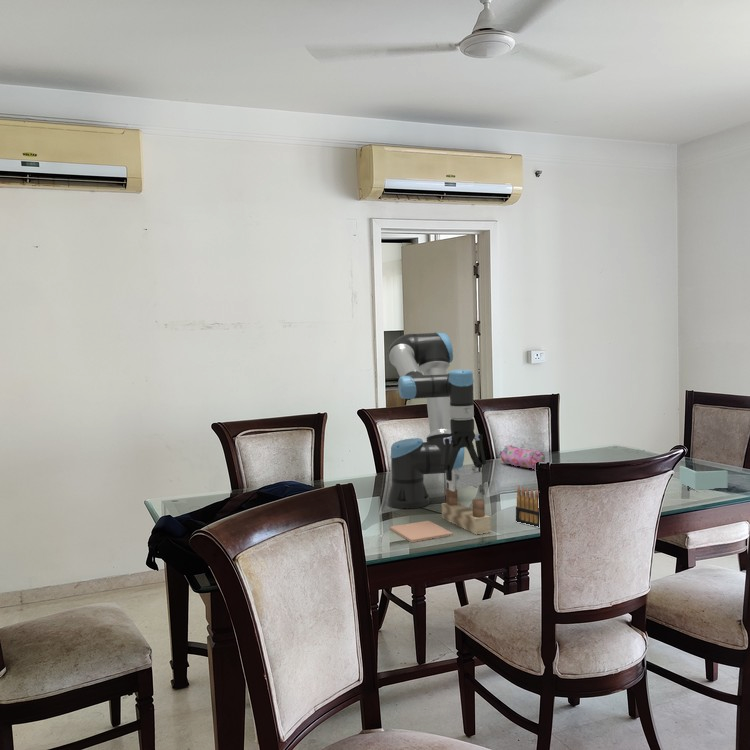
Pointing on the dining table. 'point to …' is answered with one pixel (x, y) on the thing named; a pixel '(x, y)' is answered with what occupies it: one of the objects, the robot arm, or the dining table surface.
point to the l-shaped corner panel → (703, 479)
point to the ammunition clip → (527, 507)
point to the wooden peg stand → (465, 514)
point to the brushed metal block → (467, 477)
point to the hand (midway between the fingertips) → (463, 488)
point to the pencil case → (521, 457)
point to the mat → (420, 531)
